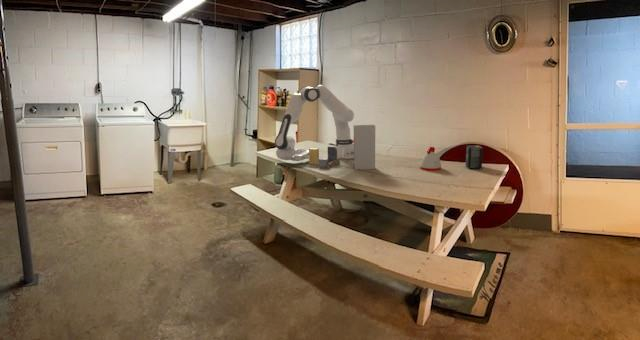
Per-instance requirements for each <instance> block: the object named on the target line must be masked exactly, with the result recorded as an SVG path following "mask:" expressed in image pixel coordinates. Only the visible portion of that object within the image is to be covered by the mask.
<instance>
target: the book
mask: <svg viewBox="0 0 640 340" xmlns="http://www.w3.org/2000/svg"><path fill="white" fill-rule="evenodd" d="M319 149H320V148H316V147H315V148H314V147H310V148H309V149H308V150H309V156H311V158H310V159H308V161H309V162H308V163H309V165H319V159H320V150H319Z"/></svg>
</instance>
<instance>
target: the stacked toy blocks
mask: <svg viewBox="0 0 640 340" xmlns="http://www.w3.org/2000/svg"><path fill="white" fill-rule="evenodd" d="M327 159H328V164H327V168H326V169H330V168H332V167H333V166H334V167H335V165H338V164H339V163H340V162H341V161H340V159H341V158H337V148H336V146H331V145H329V146H327ZM314 168H317V169H318V168H319V165H317V166H316V167H314ZM319 169H320V168H319Z"/></svg>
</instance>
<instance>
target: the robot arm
mask: <svg viewBox="0 0 640 340" xmlns="http://www.w3.org/2000/svg"><path fill="white" fill-rule="evenodd" d="M289 97H290V98H289V100H288V103H287V106H286V107H287V108H286V111H285V114H284V116H283V118H282V121H281V124H280V127H279V131H278V134H277V136H276V137H275V138H274V145H275V148H277V149H276V152H275V155H276V157H277V158H278V159H279V160H282V161H294V162H299V161H303V160H307V159H308V160H309V159H310V158H311V156H309V149H304V148H295V145H296V141H295V139H294V137H293V136H288V133H289V129H290V127H291V125H292V124H293V123H294V122H296V121H297V120H299V119H300V117H301V115H302V111H303V105H305V103H310V102H311V103H314V102H315V101H317V100H318V101H319V102H320V103H321V104H322V105H323V106H324V107H325V108H326V109H327V111H330V112H331V113H332V118H333V121H334V126H335V133H336V134H335V136H336V137H335V147H336V148H337V159H338V158H340V159H343V160H347V159H354V139H352V138H351V128H350V126H349V123H350V122H352V121H353V120H354V119H355V118H354V117H355V113H354V111H353V109H351V108H350V107H348V106H347V105H346V104H344V102H342V101H341V100H340V99H338V98H337V96H336V95H335V94H334V93H332V91H331V90H330V89H329V88H327V87H326V86H324V85H323V84H318V85H317V86H316V87H313V86H304V87H301V88H300V89H299V91H298V92H296V93H293V94H291V96H289Z"/></svg>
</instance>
